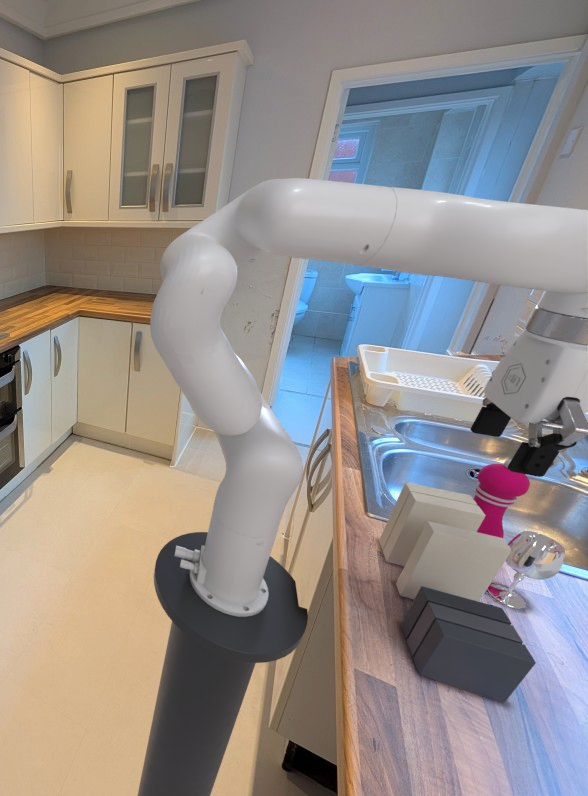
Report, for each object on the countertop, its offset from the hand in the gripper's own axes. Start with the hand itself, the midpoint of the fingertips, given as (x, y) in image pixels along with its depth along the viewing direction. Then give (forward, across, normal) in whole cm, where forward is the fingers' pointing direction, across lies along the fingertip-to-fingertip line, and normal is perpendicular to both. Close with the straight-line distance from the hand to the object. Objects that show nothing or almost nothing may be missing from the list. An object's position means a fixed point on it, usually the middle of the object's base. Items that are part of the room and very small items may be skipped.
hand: (502, 452), depth 56 cm
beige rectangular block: (+29, -11, +3) cm, 31 cm away
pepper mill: (+29, -17, +12) cm, 36 cm away
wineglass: (+29, -7, +14) cm, 33 cm away
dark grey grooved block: (+29, +10, +1) cm, 31 cm away
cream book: (+29, -2, +3) cm, 29 cm away
